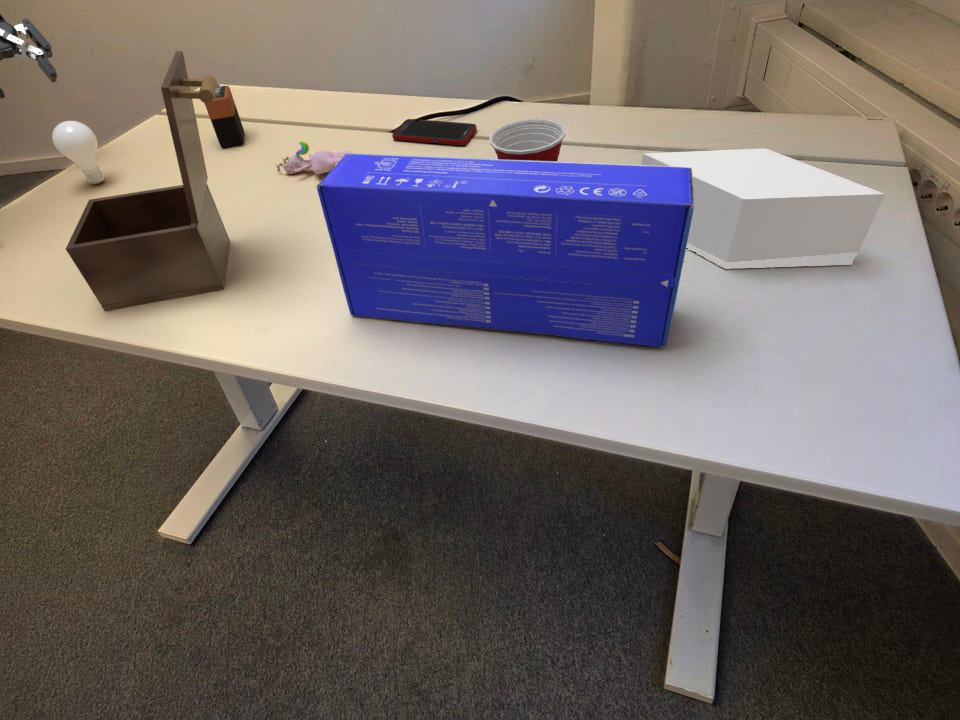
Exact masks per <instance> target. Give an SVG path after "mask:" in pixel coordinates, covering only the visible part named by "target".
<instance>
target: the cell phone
mask: <svg viewBox="0 0 960 720" xmlns="http://www.w3.org/2000/svg"><path fill="white" fill-rule="evenodd" d="M415 120H418V118H407V119H405V120H404V121H403V122H402V123H401V124H400V125H399V126H398V127H397V128H396V129H395V130H394V131H393V133H392V134H391V136H392V139H393V140H396V141H404V142H405V141H406V142H417V143H427V144H428V143H429V144H439V145H440V144H441V145H450V146H451V145H453V146H465V145H467V143H469V141H470V139H471V138H472V137H473V135H474V134H475V133H476V131H477V125H476V124H475V123H469V122H458V121H456V122H455V121H445V120H444V121H443V120H430V119H419V121H415Z"/></svg>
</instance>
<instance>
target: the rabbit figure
mask: <svg viewBox="0 0 960 720" xmlns="http://www.w3.org/2000/svg"><path fill="white" fill-rule="evenodd" d="M298 144H299V145H300V146H301V147H299V148H298V149H297V150H296V152H295V154H294V155H293V156H292V157H290V156H286V157H285V158H284V157H281V158H282V162H283V163H282V162H280V163H279V164H277V163H275V165H276V166H275V167H276V170H277V174H280V173H281V167H282V169H283V170H284V171H285V172H286V173H287V174H289V175H295V174H297V173H300V172H301V171H309V170H310V169H311V170H312V172H313V174H315V175H324V174H326V175H327V173H330V171H331V170H332V169H333V168H334V167H335V166H336V165H337V164H338V162H339V161H340V160H341V159H342V158H343V157H344V156H345V154H354V153H353V152H351V151H348V150H340V151H336V152H333V151H330V150H327V149H324V150H323V149H321V150H318V151H316V152H314V153H313V155H312V154H311V153H310V154H308V153H309V151H310V146H309V145H308V142H306V141H299V142H298ZM306 154H308V158H310V159H304V158H303V157H302V156H304V155H306Z"/></svg>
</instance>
